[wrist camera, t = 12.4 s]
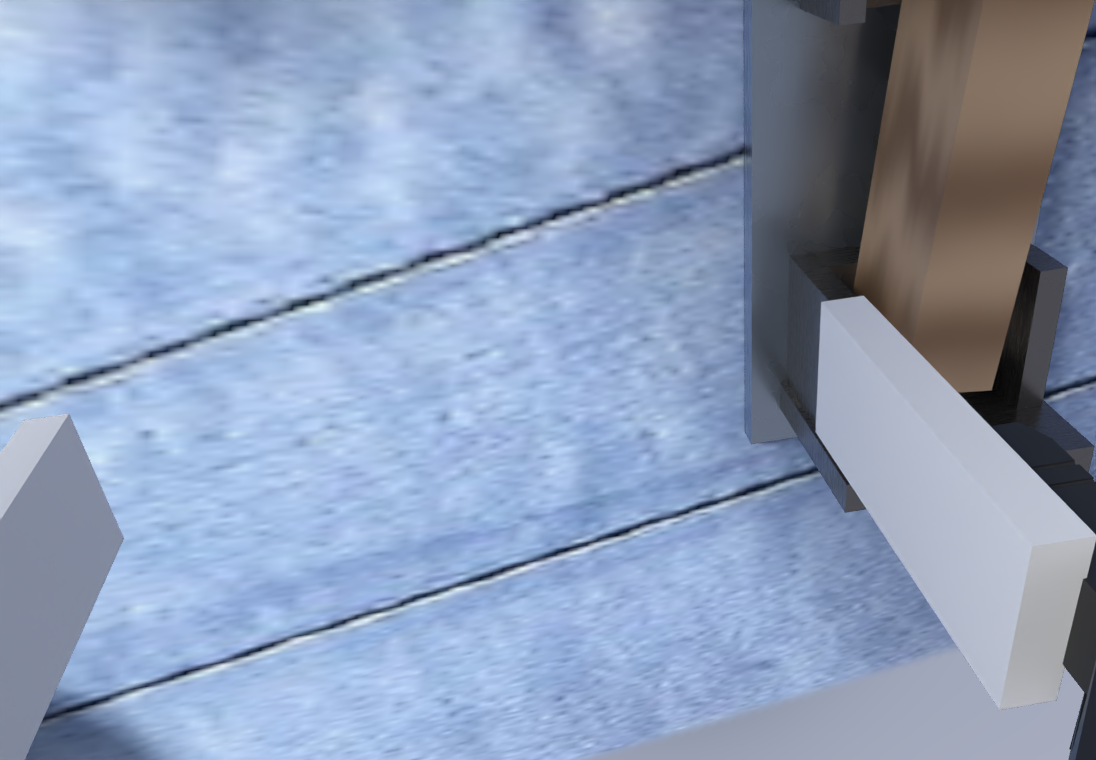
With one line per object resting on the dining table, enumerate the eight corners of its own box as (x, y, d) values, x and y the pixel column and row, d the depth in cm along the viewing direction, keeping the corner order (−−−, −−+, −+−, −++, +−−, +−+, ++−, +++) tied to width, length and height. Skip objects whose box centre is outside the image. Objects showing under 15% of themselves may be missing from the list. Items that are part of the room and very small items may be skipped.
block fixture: (743, -293, 34) (849, -341, 25) (1111, -338, 35) (1338, -400, 26) (744, 431, 50) (809, 552, 41) (995, 393, 51) (1111, 504, 42)
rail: (917, -92, 35) (1001, -82, 30) (1017, -93, 36) (1117, -84, 30) (846, 332, 44) (901, 396, 39) (926, 327, 44) (991, 390, 39)
